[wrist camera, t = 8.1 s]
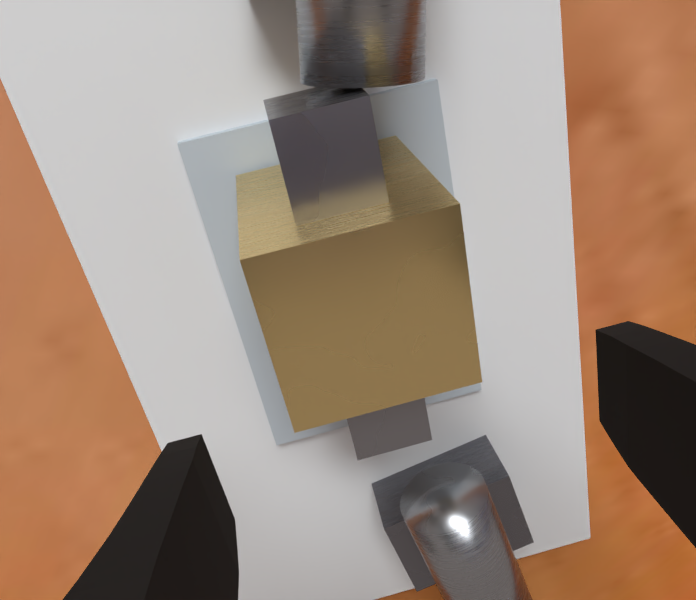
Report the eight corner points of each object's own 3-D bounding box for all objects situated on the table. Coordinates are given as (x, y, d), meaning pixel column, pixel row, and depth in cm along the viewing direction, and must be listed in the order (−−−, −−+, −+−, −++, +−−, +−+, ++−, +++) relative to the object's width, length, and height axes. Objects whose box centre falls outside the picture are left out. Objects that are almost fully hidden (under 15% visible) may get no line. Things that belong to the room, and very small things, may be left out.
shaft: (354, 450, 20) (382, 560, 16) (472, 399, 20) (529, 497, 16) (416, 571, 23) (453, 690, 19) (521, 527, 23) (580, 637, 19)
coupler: (381, 50, 15) (446, 89, 11) (429, 337, 19) (491, 452, 14) (210, 91, 15) (204, 148, 10) (294, 373, 19) (315, 501, 14)
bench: (517, -355, 13) (544, -389, 12) (577, 518, 25) (594, 544, 23) (-110, -222, 13) (-146, -243, 12) (241, 613, 24) (242, 644, 23)
